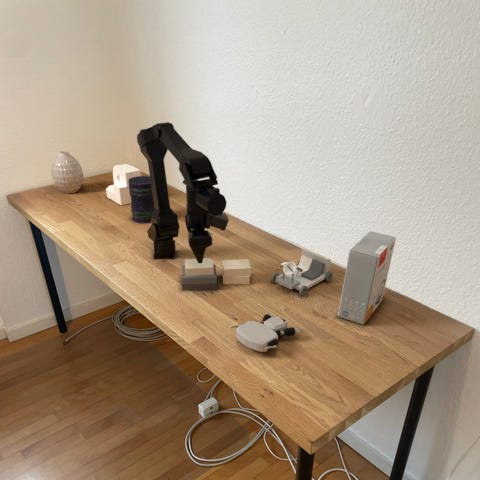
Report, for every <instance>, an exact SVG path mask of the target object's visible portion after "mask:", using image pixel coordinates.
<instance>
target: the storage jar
mask: <svg viewBox="0 0 480 480" xmlns="http://www.w3.org/2000/svg"><path fill="white" fill-rule="evenodd" d="M128 182H129V192H130V193H129V194H130V196H131V203H130V212H131V217H132V218H131V219H132V221H133V222H134V223H138V224H151V216H152V214H153V211H154V209H155V207H154V200H153V194H152V187H151V180H150V176H147V175H141V176H138V177H133V178H130V179H129V180H128Z"/></svg>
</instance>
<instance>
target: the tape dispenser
mask: <svg viewBox="0 0 480 480" xmlns="http://www.w3.org/2000/svg"><path fill="white" fill-rule="evenodd" d="M138 176H142V170H141V169H139V168H137V167H135V166H133V165H131V164H128V163H123V164H118V165H114V166H113V168H112V180H113V184H110V185H108V186H107V187H106V188H105V193H106V198H108V199H109V200H111V201H113V202H115V203H116V204H118V205H120V206H126V205H128V204H131V196H130V194H129V193H130V192H129V182H128V180H129V179H130V178H133V177H138Z"/></svg>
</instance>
